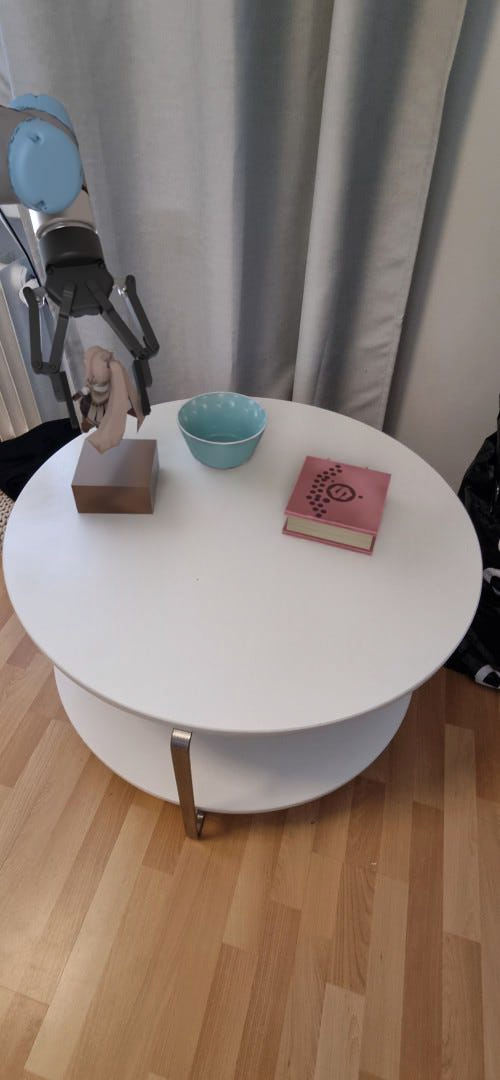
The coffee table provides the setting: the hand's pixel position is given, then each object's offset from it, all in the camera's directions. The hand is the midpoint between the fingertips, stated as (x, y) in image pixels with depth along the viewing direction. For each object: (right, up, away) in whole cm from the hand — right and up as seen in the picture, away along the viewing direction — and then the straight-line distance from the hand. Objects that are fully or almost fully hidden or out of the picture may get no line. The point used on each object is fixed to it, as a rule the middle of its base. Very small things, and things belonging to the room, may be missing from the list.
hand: (111, 419), depth 74 cm
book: (+32, -11, +23) cm, 40 cm away
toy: (-1, -1, +6) cm, 6 cm away
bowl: (+12, 0, +33) cm, 35 cm away
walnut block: (-4, -7, +25) cm, 26 cm away
